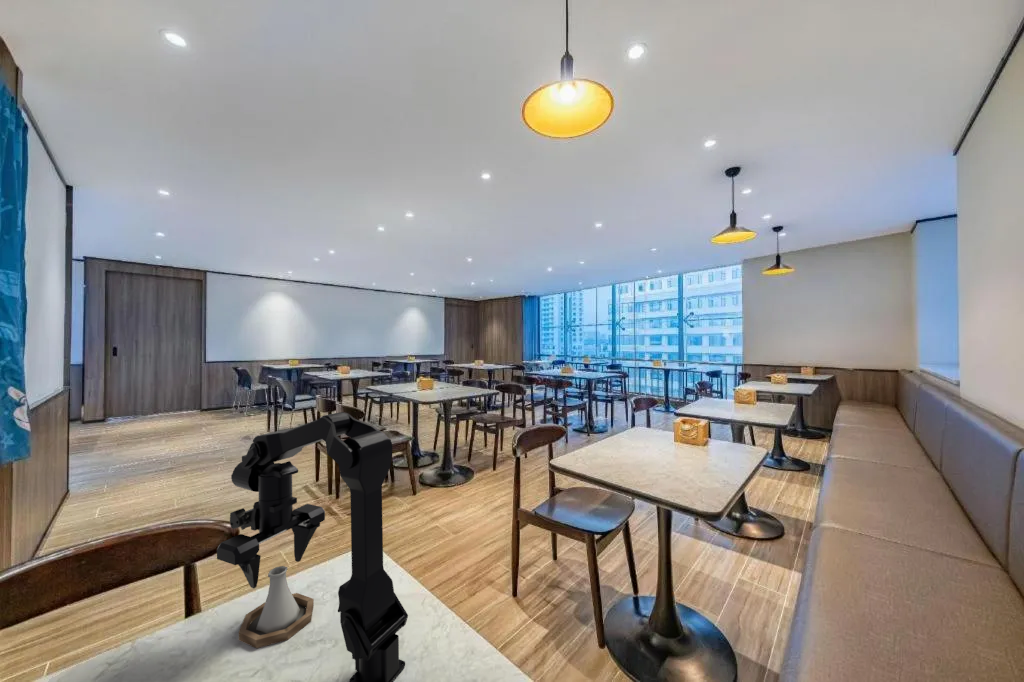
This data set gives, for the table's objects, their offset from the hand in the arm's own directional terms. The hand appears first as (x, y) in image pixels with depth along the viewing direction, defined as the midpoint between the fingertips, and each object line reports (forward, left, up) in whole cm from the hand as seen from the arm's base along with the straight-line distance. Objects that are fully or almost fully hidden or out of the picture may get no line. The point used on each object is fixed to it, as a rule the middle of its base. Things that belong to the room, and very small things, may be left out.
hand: (276, 573), depth 76 cm
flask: (0, 0, -10) cm, 10 cm away
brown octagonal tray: (0, 0, -10) cm, 10 cm away
